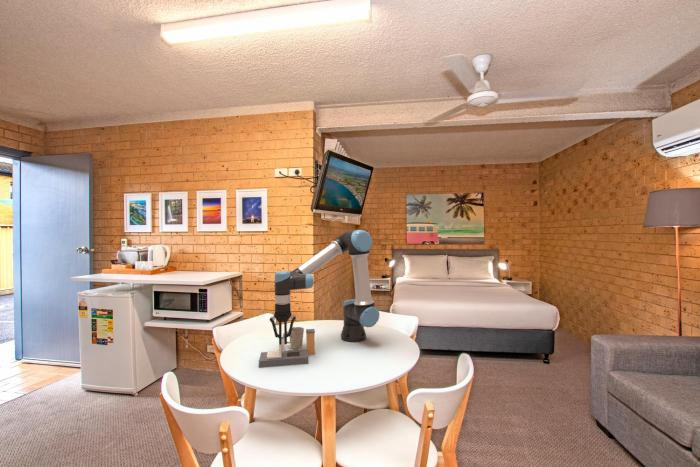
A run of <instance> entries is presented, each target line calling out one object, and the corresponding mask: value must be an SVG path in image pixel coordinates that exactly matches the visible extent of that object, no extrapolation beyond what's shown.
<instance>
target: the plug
mask: <svg viewBox="0 0 700 467" xmlns="http://www.w3.org/2000/svg"><path fill="white" fill-rule="evenodd" d="M305 332H306V333H305V334H306V336H305V337H306V339H305V341H306V347H305V349H307V353H308V356H309V355H311V356H312V355H315V354H316V353H315V351H316V350H315V349H316V348H315V344H316V342H315V333H316V331H315V328H309V329H307V328H306V329H305Z"/></svg>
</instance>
